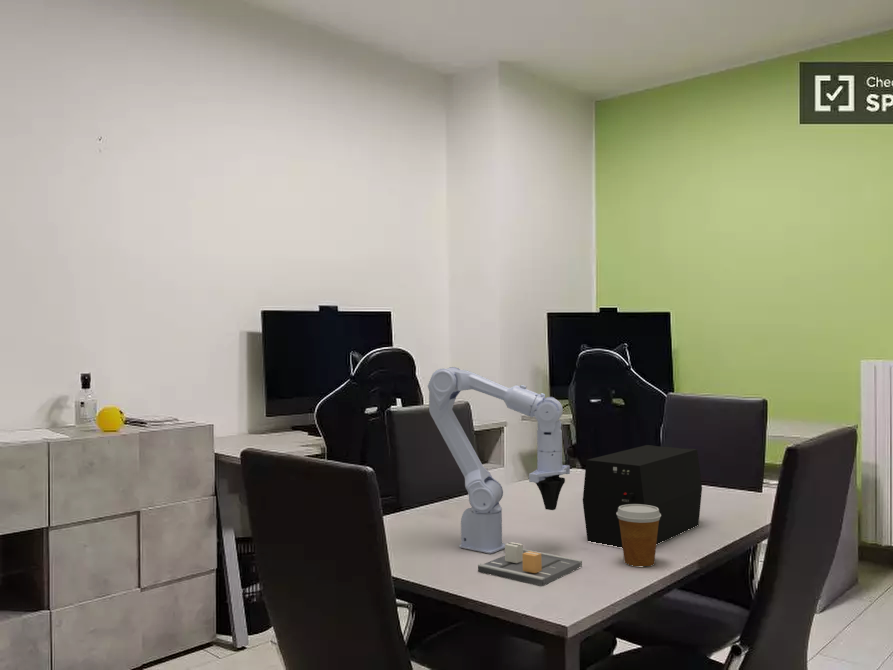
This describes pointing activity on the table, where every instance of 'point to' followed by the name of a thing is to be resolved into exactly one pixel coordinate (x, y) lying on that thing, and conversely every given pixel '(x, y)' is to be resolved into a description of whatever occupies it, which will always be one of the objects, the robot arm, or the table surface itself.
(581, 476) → the table surface
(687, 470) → the uninterruptible power supply
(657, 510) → the disposable coffee cup
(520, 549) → the fader
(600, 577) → the table surface
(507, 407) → the robot arm
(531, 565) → the block
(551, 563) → the fader board
